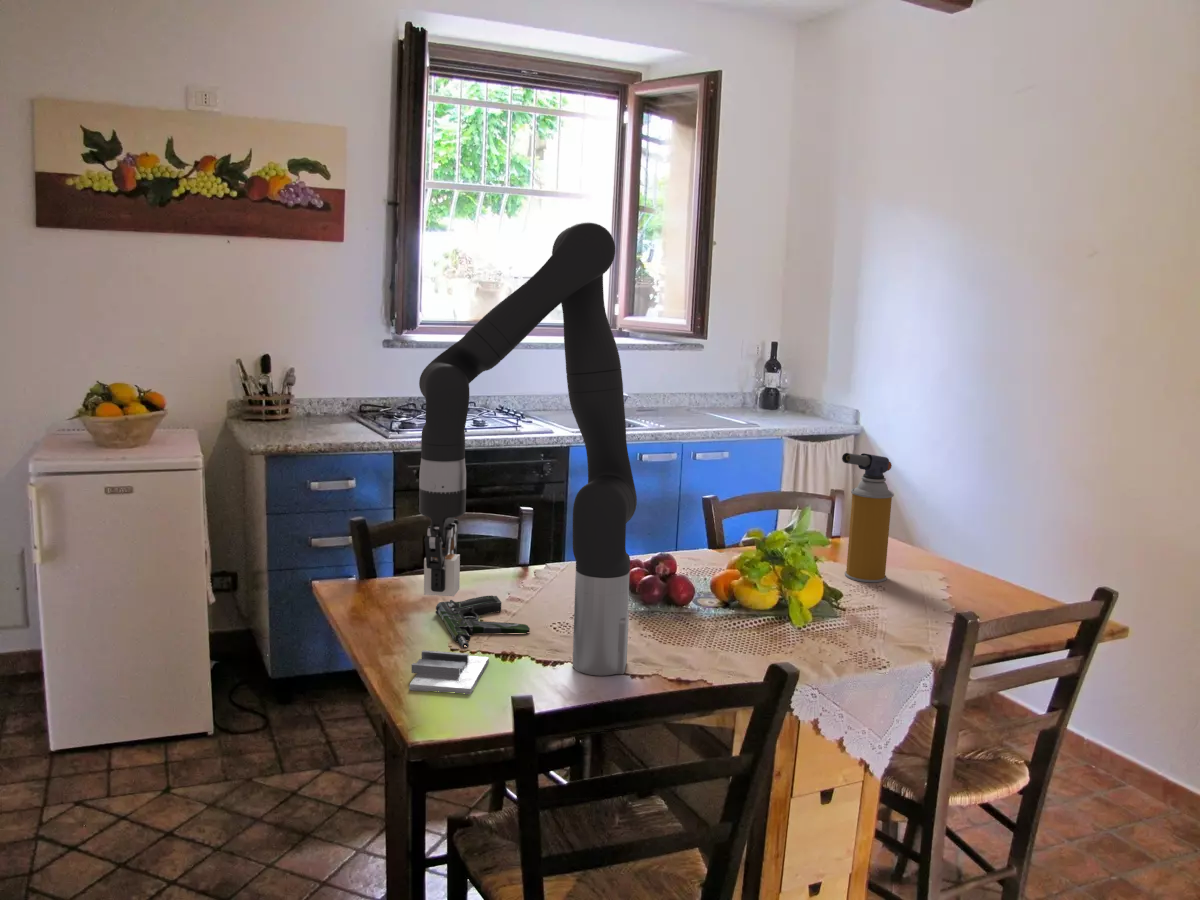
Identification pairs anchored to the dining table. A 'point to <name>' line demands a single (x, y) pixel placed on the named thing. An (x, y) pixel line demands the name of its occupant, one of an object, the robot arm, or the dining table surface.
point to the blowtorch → (869, 519)
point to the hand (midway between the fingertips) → (441, 586)
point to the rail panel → (447, 672)
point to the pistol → (474, 618)
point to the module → (450, 577)
